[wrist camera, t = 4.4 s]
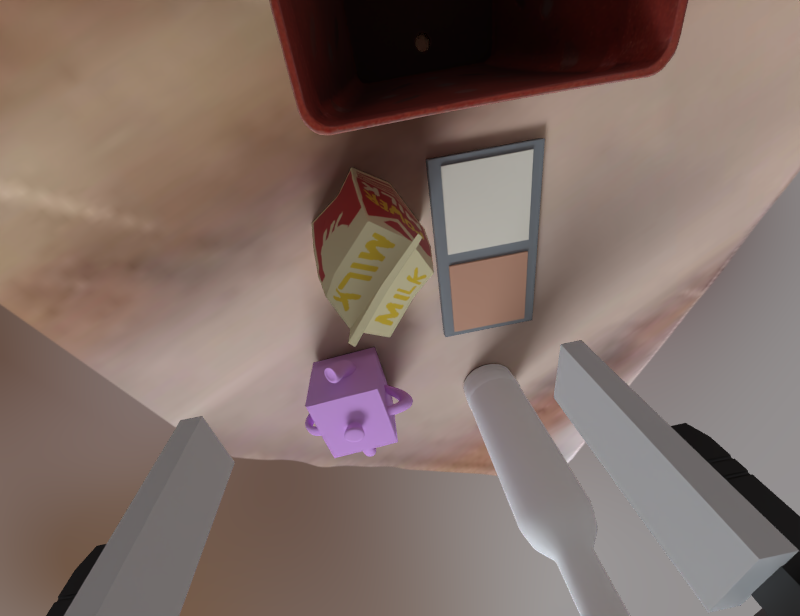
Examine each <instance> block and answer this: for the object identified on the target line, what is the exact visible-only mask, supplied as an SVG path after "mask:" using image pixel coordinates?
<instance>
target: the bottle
mask: <svg viewBox="0 0 800 616" xmlns="http://www.w3.org/2000/svg"><path fill="white" fill-rule="evenodd" d="M463 389H464V392H465V395H466V398H467V401H468V404H469V406H470V409H471V410H472V412H473V415H474V417H475V420H476V422H477V425H478V427H479V430H480V432H481V435H482V437H483V440H484V442H485V445H486V447H487V450H488V452H489V455H490V457H491V460H492V462H493V465H494V467H495V470H496V472H497V475H498V477H499V480H500V482H501V485H502V487H503V490H504V492H505V495H506V497H507V500H508V502H509V505H510V507H511V510H512V512H513V515H514V517H515V520H516V522H517V525H518V527H519V529H520V531H521V532H522V534H523V535H524V536H525V538H526V539H527V540H528V542H529V543H530V544H531V545H532V547H533V548H534V549H535V550H537V551H538V552H540V553H541V554H543V555H545V556H547V557H549V558H550V559H552V560H554V561H555V562H556V563H557V565H558V567H559V570H560V572H561V574H562V576H563V578H564V581H565V583H566V585H567V587H568V589H569V592H570V594H571V596H572V598H573V600H574V603H575V605H576V607H577V609H578V611H579V614H580V616H630V614H629V613H628V611H627V609H626V607H625V605H624V603H623V602H622V600H621V598H620V596H619V595H618V593H617V591H616V589H615V587H614V585H613V584H612V582H611V580H610V578H609V576H608V575H607V573H606V571H605V569H604V567H603V566H602V564H601V562H600V560H599V558H598V557H597V555H596V553H595V551H594V549H593V548H594V544H595V539H596V535H597V522H596V518H595V515H594V510H593V507H592V504H591V501H590V499H589V498H588V496H587V494H586V493H585V491H584V490H583V488H582V486H581V485H580V483H579V482H578V480H577V478H576V477H575V475H574V473H573V472H572V470H571V469H570V467H569V465H568V464H567V462H566V460H565V459H564V457H563V455H562V454H561V452H560V451H559V449H558V447H557V446H556V444H555V443H554V441H553V439H552V438H551V436H550V434H549V433H548V431H547V430H546V428H545V426H544V425H543V423H542V422H541V420H540V418H539V417H538V415H537V413H536V412H535V410H534V409H533V407H532V405H531V404H530V402H529V401H528V399H527V397H526V396H525V394H524V392H523V391H522V389H521V388H520V385H519V383H518V381H517V380H516V378H515V377H514V376H513V375H512V373H511V372H510V371H509V369H508V368H507V367H505V366H503V365H500V364H488V365H483V366H481V367H479V368H477V369H475V370H474V371H472V372H471V373H470V374H469V375H468V376H467V378H466V380H465V381H464V387H463Z"/></svg>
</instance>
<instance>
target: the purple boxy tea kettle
mask: <svg viewBox="0 0 800 616" xmlns="http://www.w3.org/2000/svg"><path fill="white" fill-rule="evenodd" d="M392 396H393V397H395V398H396V399H398V400H399V402H398V403H396V404H393V400H392ZM412 402H413V400H412V397H411V396H410V395H409V394H408V393H406V392H405V391H403V390H401V389H398V388H395V387H392V386H388V384H387V381H386V378H385V375H384V372H383V369H382V367H381V364H380V361H379V358H378V355H377V352H376V349H375V347H372V348H368V349H365V350H361V351H357V352H353V353H349V354H345V355H341V356H337V357H333V358H330V359H326V360H322V361H318V362H314V363H313V367H312V373H311V378H310V383H309V389H308V394H307V400H306V405H305V406H306V408H307V410H308V412H309V413H310V414H309V415H308V417H307V419H306V422H305V425H306V428H307V430H308V431H309V432H310V433H311V434H312V435H315V436H321V435H322V437H323V439H324V441H325V442H326V444H327V446H328V448H329V449H330V451H331V453H332V455H333V456H334V458H337V457H340V456H344V455H348V454H352V453H357V452H361V451H363V452H364V453H365V455H367V456H373V455H375V453H376V447H380V446H384V445H388V444H392V443H396V442H398V439H397V431H396V423H395V414H398V413H400V412H403V411H405V410H407V409H408V408H409V407H410V406H411V405H412ZM314 423H315V424H316V426H317V427H314V426H313V424H314Z"/></svg>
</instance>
